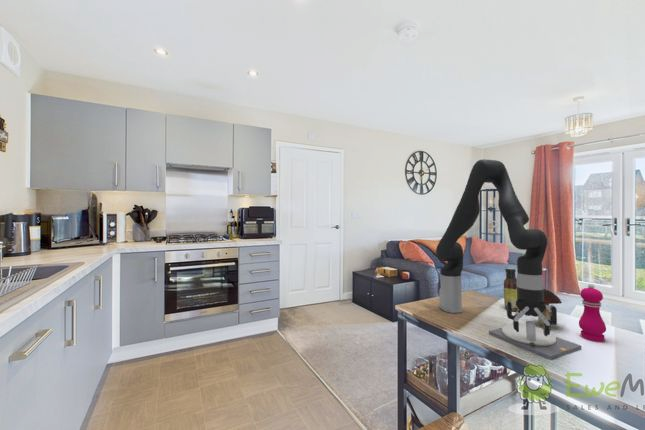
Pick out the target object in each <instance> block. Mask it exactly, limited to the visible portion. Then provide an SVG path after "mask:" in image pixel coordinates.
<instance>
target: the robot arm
mask: <svg viewBox="0 0 645 430" xmlns="http://www.w3.org/2000/svg"><path fill="white" fill-rule="evenodd" d="M486 183H488V184H489V183H490V184H492V185H493V186H494V187H495V189H496V191H497V192H498V193H497V194H498V200H497V201H498V203H497V205H498V209H499V212H500V214H501V215H502V218H503V219H504V222H505V223H506V226H507V232H508V237H509V241H510V242H511V244H512V245H513V246H514V248H516V249H518V250H522V251H525V253H524V254H523V255H520V256H519V257H517V260H516V265H517V266H516V268H517V269H516V272H517V273H516V279H517V282H516V284H517V301H516V302H511V301H509V300H507V309H506V316H507V319H509V320H512V324H513V327H514V330H516V332H519V324H520V323H519V321H520V319H521V318H523V316H524V315H525V317H526V316H527V317H529V316H530V317H536V318H538V316H540V318H541V319H542V320H543V321H544V323H543V325H542V326H543V328H542V329H543V333H544V336H548V335H549V334H550V333H551V327H550V326H553V325H554V326H555V325H557V324H558V321H557V320H558V317H557V316H558V315H557V307H556V306H555V304H551V305H550V304H549V305H545V304H544V286H545V285H544V284H545V283H544V277H543V260H544V258H545V253H546V250H547V247H548V238H547V235H546V233H545V232H544V231H543V230H541V229H539V228H538V229H537V228H528V229H527V228H525V225H527V224H528V223H529V221H530V217H529V214H528V213H527V211H526V210H525V207H523V205H522V203H521V202H520V199H519V198H518V196H517V194H516V192H515V189H514V187H513V183H512V181H511V178H510V176H509V172H508V170H507V168H506V166H505V164H504V163H503V162H502V161H500V160H496V159H485V158H484V159H479V160H477V161H476V162H475V163H474V164H473V166H472V168H471V170H470V172H469V176H468V179H467V182H466V184H465V185H466V186H465V187H464V190H463V193H462V195H461V197H460V198H461V199H460V201H458V204H457V206H456V208H455V210H454V212H453V215H452V218H451V220H450V222H449V224H448V227H447V229H446V230H445V232H444V234H443V236H441V239H440V240H439V242H438V243H437V246H436V249H435V254H436V257H437V259H438V260H439V261H441V262H446V264H445V265H443V266H442V267H440V271H439V273H440V274H439V275H440V288H439V290H438V292H439V293H438V294H439V295H438V297H439V309H441V310H442V311H444V312H447V313H450V314H451V313H453V314H458V313H462V311H463V297H462V296H463V294H462V291H463V290H462V271H463V267H464V251H463V249H464V248H463V246H462V244H460V243H459V242H458V240H459V239H460V238H461V237H462V236H463V235H465V234H466V233H467V232H468V231H470V229H471V228H472V227H473V226H474V224H475V222H476V221H477V219H478V217H479V215H480V211H481V206H480V199H479V196H480V192H481V189H482V188H483V186H484V184H486ZM515 305H516V306H517V307H518V308H519V310H518V311H515V314H514V315H513V313H512V312H513V311H512V308H514V306H515ZM545 309H548V311H549V312H550V320H547V319H546V318H545V316H544V315H543V314H542V312H543V311H544V310H545Z"/></svg>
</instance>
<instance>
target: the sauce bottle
mask: <svg viewBox="0 0 645 430" xmlns="http://www.w3.org/2000/svg"><path fill="white" fill-rule="evenodd" d="M504 271H505V279H504V281H503V298H504V299H503V300H504V301H503V302H504V308H505V310H507V300H509V301H511V302H516V301H517V284H516V282H517V276H516V272H517V269H516V268H514V267H506V268H505V269H504ZM518 310H519V308H518V307H517V306H516V305H515V306H514V308H512V312H517V311H518Z"/></svg>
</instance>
